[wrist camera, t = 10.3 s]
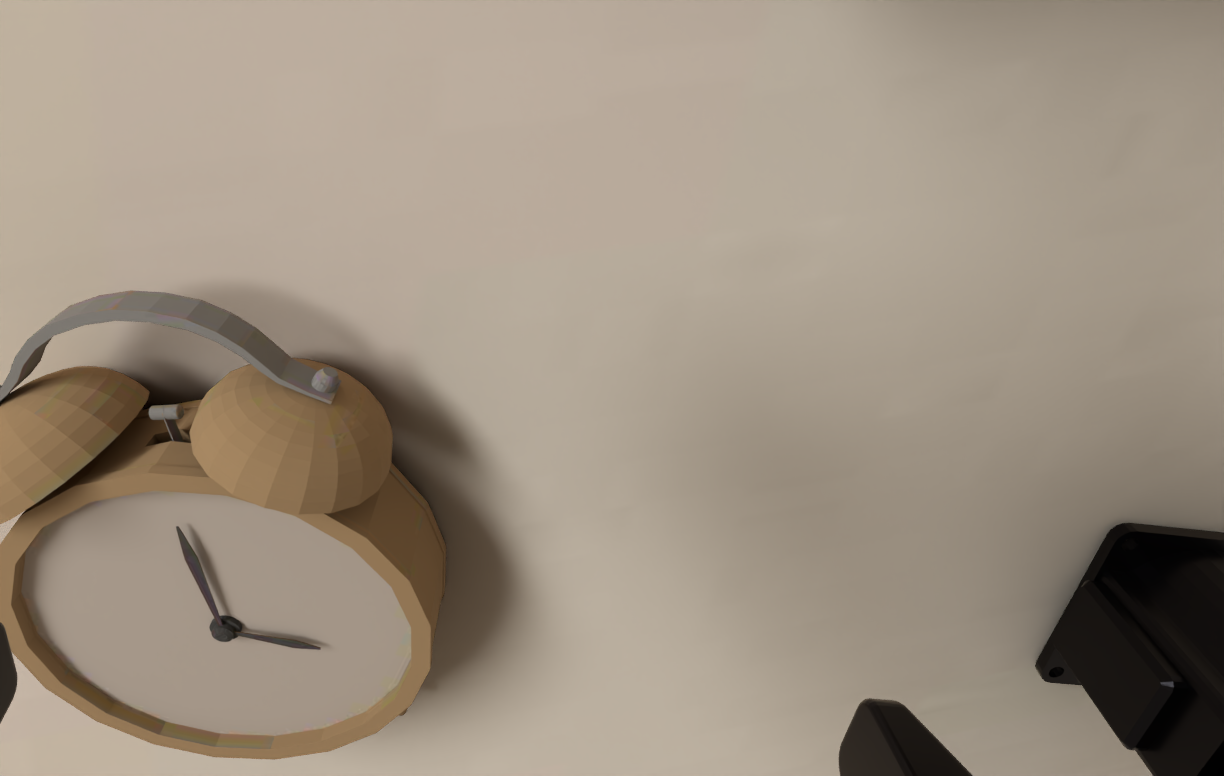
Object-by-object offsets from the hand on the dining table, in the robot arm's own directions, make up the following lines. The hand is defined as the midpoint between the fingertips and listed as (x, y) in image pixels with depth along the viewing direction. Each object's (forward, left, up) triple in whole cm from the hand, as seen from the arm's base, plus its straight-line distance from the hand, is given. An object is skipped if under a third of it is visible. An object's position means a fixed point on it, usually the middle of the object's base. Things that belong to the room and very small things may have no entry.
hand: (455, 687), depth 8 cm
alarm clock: (+7, +8, -14) cm, 18 cm away
